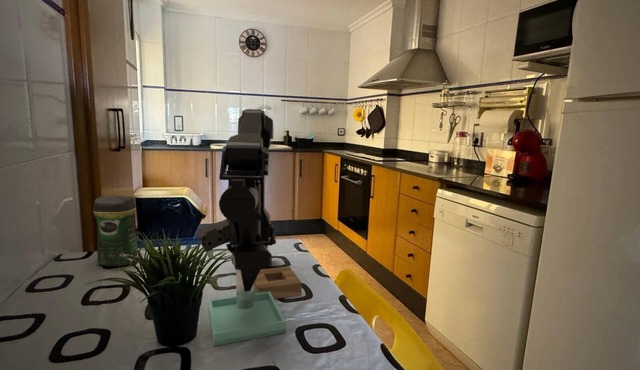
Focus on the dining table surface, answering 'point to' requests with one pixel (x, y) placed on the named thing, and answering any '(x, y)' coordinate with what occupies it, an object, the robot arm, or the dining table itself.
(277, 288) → the block
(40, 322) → the dining table surface
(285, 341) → the dining table surface
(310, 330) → the dining table surface
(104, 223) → the coffee jar
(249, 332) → the tray
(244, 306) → the steel pin
